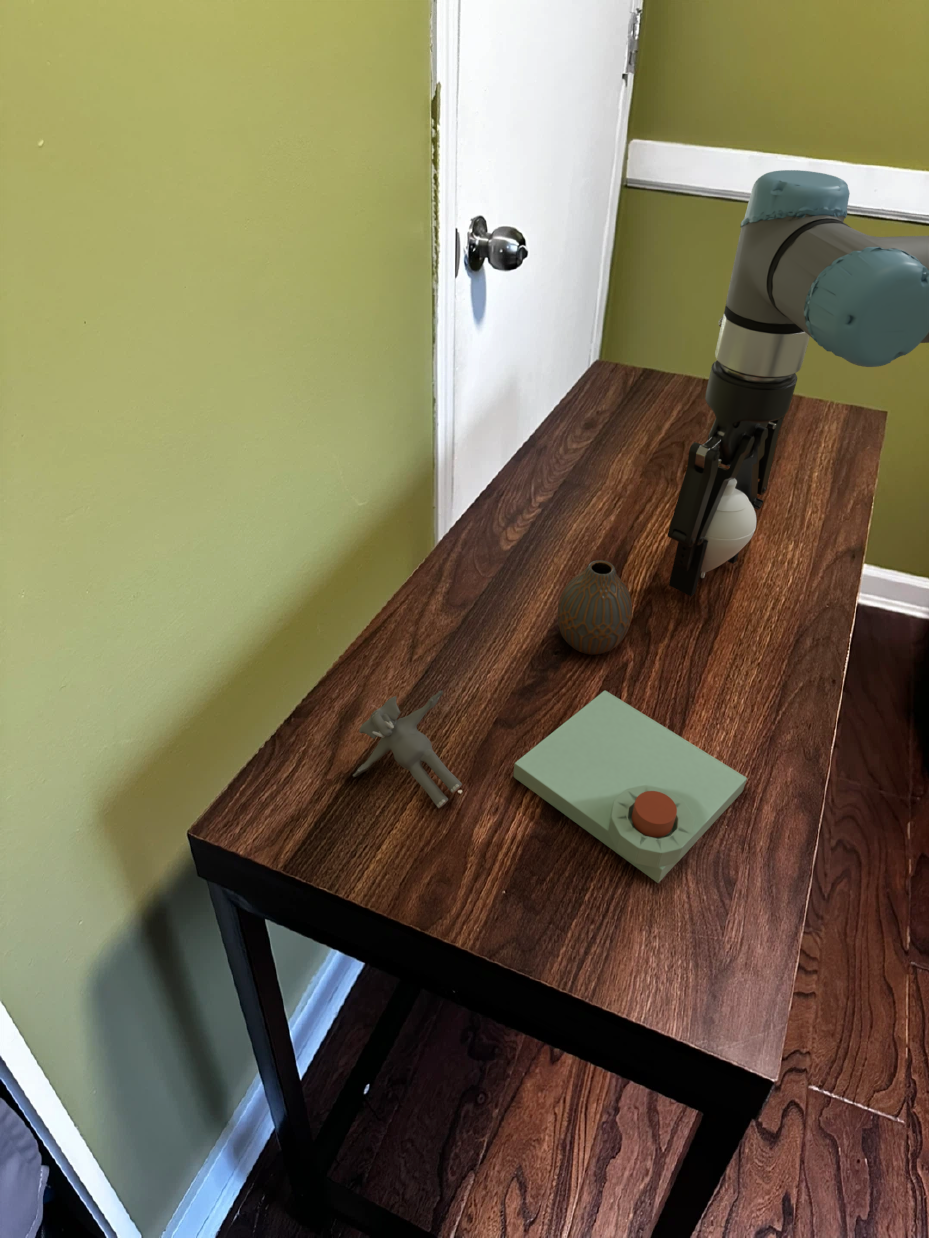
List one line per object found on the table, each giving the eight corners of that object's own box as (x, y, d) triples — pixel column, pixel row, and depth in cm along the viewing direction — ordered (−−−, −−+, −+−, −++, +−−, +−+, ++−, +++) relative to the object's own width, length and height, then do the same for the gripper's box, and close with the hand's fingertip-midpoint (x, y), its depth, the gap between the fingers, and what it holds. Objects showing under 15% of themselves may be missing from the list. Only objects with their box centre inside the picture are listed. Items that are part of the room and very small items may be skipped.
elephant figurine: (392, 845, 64) (319, 754, 66) (418, 836, 70) (350, 753, 72) (488, 754, 63) (410, 665, 65) (506, 753, 68) (434, 671, 71)
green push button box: (747, 794, 68) (758, 765, 66) (655, 895, 61) (664, 866, 59) (602, 703, 76) (607, 674, 74) (505, 783, 69) (507, 753, 66)
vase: (543, 651, 81) (552, 577, 76) (568, 611, 86) (577, 538, 81) (613, 674, 79) (627, 599, 74) (634, 631, 84) (649, 558, 78)
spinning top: (682, 549, 95) (704, 452, 88) (748, 573, 92) (777, 474, 85) (654, 582, 90) (675, 483, 83) (724, 609, 87) (752, 508, 80)
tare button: (681, 820, 62) (685, 807, 61) (657, 844, 61) (661, 831, 60) (646, 797, 64) (650, 783, 63) (623, 820, 62) (626, 806, 61)
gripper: (773, 326, 84) (722, 522, 99) (655, 385, 73) (617, 598, 87) (846, 348, 80) (782, 549, 95) (733, 414, 69) (680, 632, 83)
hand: (703, 572), depth 91 cm, fingers closed on spinning top, 8 cm apart
